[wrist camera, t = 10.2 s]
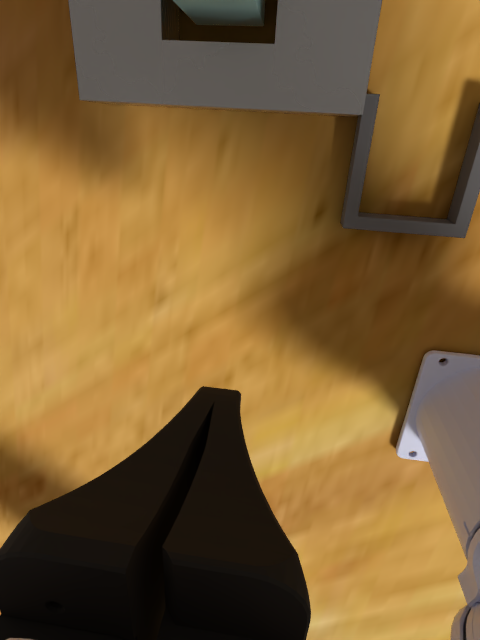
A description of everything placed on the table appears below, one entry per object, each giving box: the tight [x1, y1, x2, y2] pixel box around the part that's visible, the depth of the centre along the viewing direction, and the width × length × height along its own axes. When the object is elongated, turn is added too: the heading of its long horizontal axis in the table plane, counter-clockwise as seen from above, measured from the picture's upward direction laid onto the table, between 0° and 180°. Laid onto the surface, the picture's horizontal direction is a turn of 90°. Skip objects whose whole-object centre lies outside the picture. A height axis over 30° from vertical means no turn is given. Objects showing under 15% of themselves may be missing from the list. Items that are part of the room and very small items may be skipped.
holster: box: [341, 94, 480, 238], centre depth 18 cm, size 6×6×1 cm
